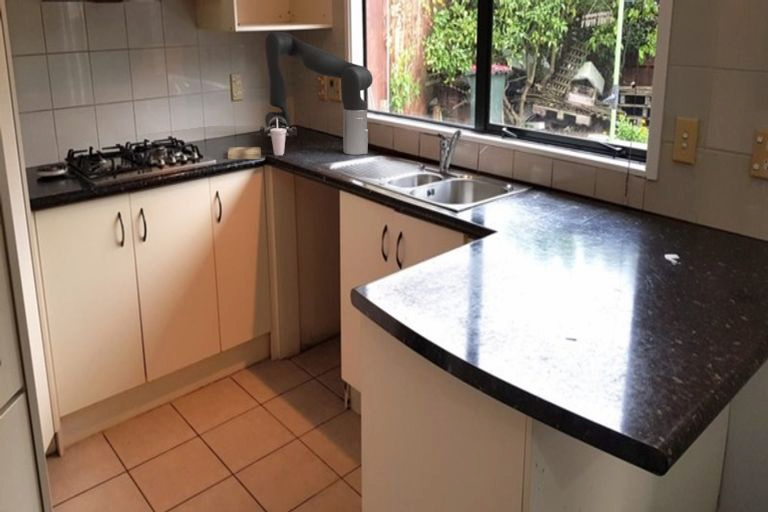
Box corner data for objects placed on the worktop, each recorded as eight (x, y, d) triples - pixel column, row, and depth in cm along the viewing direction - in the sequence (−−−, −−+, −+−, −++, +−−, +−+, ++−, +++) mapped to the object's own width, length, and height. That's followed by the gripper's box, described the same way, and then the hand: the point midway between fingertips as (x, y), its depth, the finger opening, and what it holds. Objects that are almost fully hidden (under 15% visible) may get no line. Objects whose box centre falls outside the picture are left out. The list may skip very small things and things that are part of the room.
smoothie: (267, 154, 275) (266, 118, 271) (277, 152, 281) (276, 116, 276) (280, 156, 273) (279, 120, 268) (290, 153, 278) (289, 117, 273)
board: (260, 152, 279) (260, 146, 279) (260, 158, 268) (260, 153, 268) (229, 152, 278) (229, 146, 277) (228, 159, 266) (227, 153, 266)
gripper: (259, 117, 286) (259, 124, 271) (295, 117, 288) (296, 124, 273) (260, 136, 288) (260, 144, 273) (296, 136, 290) (297, 144, 275)
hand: (278, 134), depth 273 cm, fingers open, 8 cm apart
